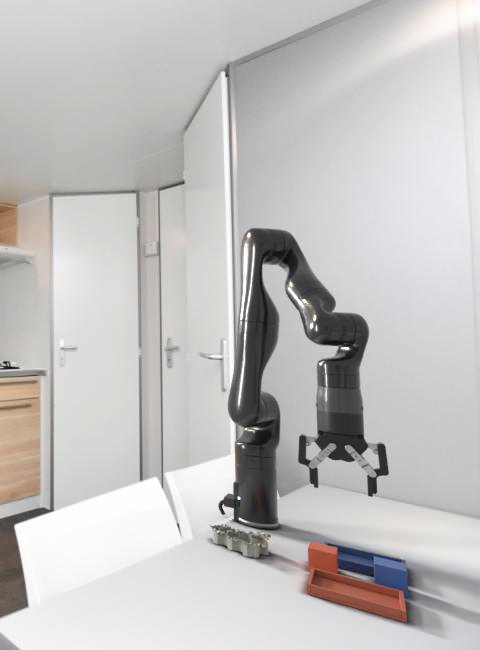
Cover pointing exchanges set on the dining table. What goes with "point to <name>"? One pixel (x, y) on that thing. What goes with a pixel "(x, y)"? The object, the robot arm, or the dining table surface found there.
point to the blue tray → (359, 559)
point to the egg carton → (241, 540)
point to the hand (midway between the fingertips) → (342, 491)
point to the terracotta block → (323, 557)
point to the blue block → (391, 574)
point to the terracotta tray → (357, 594)
